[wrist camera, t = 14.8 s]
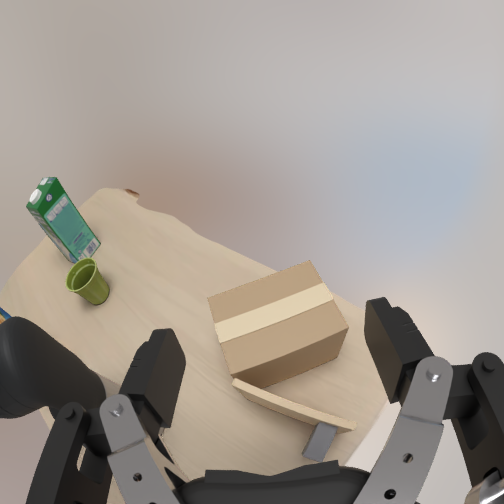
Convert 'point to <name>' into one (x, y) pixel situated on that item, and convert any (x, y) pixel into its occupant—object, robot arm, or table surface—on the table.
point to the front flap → (300, 418)
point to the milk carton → (62, 220)
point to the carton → (278, 326)
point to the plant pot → (87, 281)
